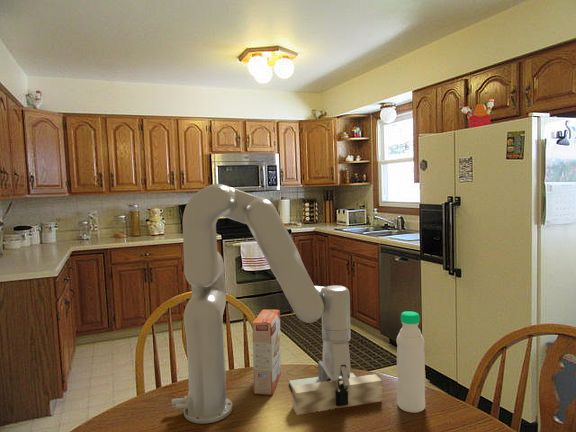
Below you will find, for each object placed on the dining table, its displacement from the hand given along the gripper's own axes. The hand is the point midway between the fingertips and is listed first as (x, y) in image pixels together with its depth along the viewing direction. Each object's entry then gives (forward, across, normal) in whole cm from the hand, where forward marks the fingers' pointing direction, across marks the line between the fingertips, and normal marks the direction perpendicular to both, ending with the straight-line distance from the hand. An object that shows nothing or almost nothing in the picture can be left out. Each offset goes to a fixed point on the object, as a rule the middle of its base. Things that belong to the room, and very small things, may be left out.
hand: (337, 398), depth 111 cm
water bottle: (+2, +6, +18) cm, 19 cm away
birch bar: (+2, 0, 0) cm, 2 cm away
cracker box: (+2, -16, -16) cm, 23 cm away
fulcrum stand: (+2, -12, 0) cm, 12 cm away
